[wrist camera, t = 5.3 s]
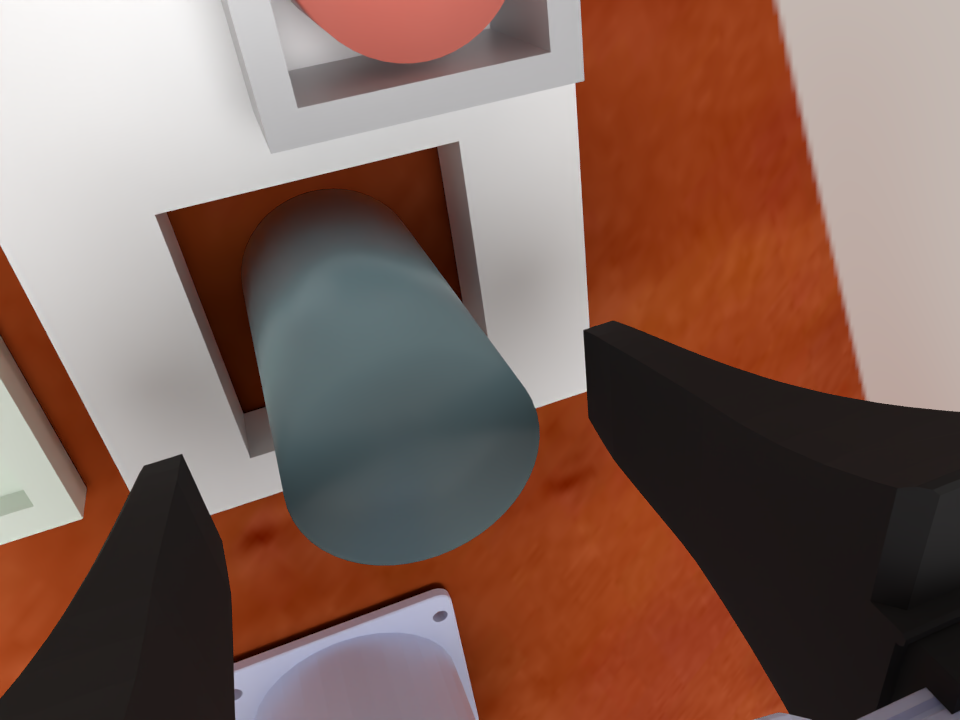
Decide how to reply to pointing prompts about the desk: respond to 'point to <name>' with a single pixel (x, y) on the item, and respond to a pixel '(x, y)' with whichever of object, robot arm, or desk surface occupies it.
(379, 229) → the cylinder
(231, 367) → the desk surface
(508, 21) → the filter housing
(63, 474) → the tray
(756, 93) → the desk surface
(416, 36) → the release plunger
